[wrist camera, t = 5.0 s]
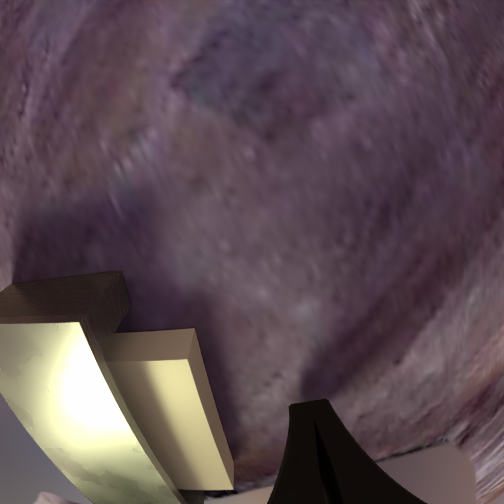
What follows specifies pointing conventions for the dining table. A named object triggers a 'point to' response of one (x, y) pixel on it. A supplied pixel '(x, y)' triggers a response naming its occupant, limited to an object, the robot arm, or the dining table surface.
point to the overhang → (78, 388)
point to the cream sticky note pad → (173, 405)
